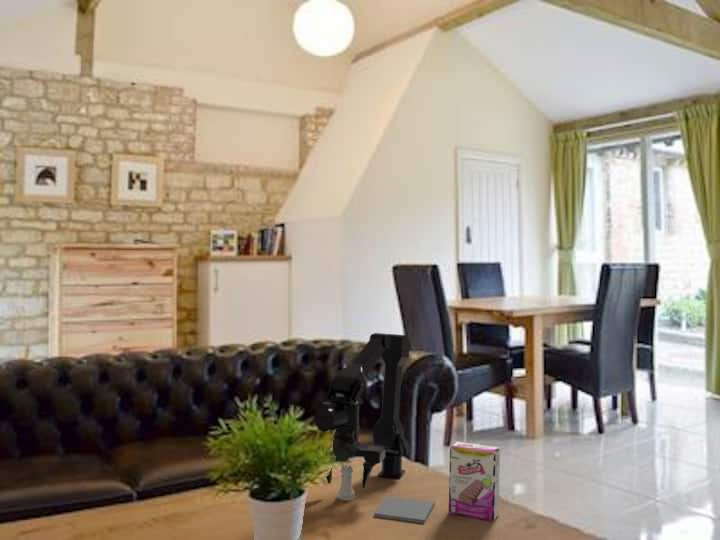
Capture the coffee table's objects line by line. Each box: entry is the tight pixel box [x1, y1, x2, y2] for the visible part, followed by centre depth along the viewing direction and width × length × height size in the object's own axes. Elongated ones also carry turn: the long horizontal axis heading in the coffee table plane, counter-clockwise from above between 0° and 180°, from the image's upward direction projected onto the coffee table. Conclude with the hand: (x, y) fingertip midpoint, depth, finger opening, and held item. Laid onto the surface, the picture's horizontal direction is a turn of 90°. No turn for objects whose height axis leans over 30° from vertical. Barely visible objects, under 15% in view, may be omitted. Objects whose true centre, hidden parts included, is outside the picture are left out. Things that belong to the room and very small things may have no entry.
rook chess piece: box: [337, 464, 356, 502], centre depth 159 cm, size 4×4×8 cm
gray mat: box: [373, 495, 435, 524], centre depth 151 cm, size 12×12×1 cm
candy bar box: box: [448, 440, 501, 522], centre depth 149 cm, size 11×5×16 cm, turn 65°
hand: (346, 485), depth 159 cm, fingers open, 9 cm apart
